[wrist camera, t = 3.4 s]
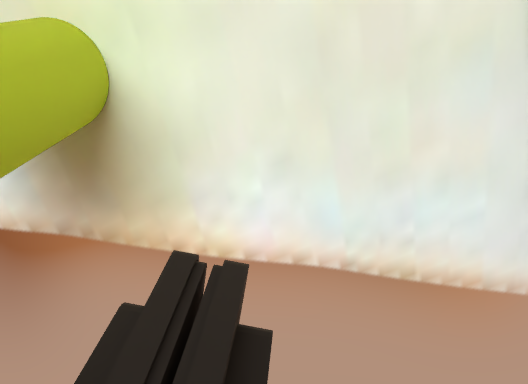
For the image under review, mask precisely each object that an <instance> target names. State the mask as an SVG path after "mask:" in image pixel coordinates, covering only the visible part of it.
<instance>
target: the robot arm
mask: <svg viewBox="0 0 528 384" xmlns="http://www.w3.org/2000/svg"><path fill="white" fill-rule="evenodd" d="M206 268H207V263H203V262H199V255H196V254H191V253H186V252H180V251H175V250H174V251H173V252H172V254H171V256H170V258H169V260H168V262H167V264H166V266H165V267H164V270H163V271H162V273H161V275H160V277H159V279H158V281H157V283H156V285H155V287H154V289H153V291H152V293H151V295H150V297H149V299H148V301H147V302H146V304H145V306H140V305H135V304H130V303H123V304H122V305H121V306H120V307H119V309H118V310H117V312H116V314H115V315H114V317H113V319H112V321H111V322H110V324H109V326H108V327H107V329H106V331H105V332H104V334H103V336H102V337H101V339H100V341H99V343H98V344H97V346H96V348H95V349H94V351H93V353H92V355H91V356H90V358H89V360H88V361H87V363H86V364H85V366H84V368H83V370H82V371H81V373H80V375H79V376H78V378H77V380H76V381H75V383H74V384H267V380H268V371H269V361H270V353H271V344H272V334H273V331H272V330H267V329H262V328H256V327H251V326H246V325H241V324H239V320H240V314H241V309H242V303H243V297H244V291H245V285H246V280H247V274H248V268H249V264H244V263H238V262H234V261H228V260H225V261H224V264H223V266H219V265H214V266H213V269H212V271H211V274H210V277H209V280H208V283H207V286H206V289H205V292H204V294H203V291H204V283H205V276H206Z"/></svg>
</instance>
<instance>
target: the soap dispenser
mask: <svg viewBox="0 0 528 384" xmlns="http://www.w3.org/2000/svg"><path fill="white" fill-rule="evenodd" d="M108 88H109V80H108V72H107V68H106V65H105V62H104V59H103V57H102V55H101V53H100V51H99V50H98V48H97V47H96V45H95V44H94V43H93V41H92V40H91V39H90V38H89V37H88V36H87V35H86V34H85V33H84V32H82V31H81V30H80V29H78V28H77V27H75V26H74V25H72V24H70V23H68V22H65V21H63V20H59V19H55V18H48V17H41V18H33V19H26V20H18V21H11V22H4V23H0V178H2V177H3V176H5V175H7V174H8V173H10V172H11V171H13V170H15V169H16V168H18V167H19V166H21V165H23V164H24V163H26V162H27V161H29V160H31V159H32V158H34V157H35V156H37V155H39V154H40V153H42V152H43V151H45V150H47V149H48V148H50V147H51V146H53V145H55V144H56V143H58V142H59V141H61V140H63V139H64V138H66V137H67V136H69V135H71V134H72V133H74V132H75V131H77V130H79V129H80V128H82V127H83V126H85V125H87V124H88V123H90V122H91V121H92V120H94V119H95V118H96V117H97V116H98V114H99V113H100V112H101V110H102V108H103V107H104V105H105V102H106V99H107V95H108Z"/></svg>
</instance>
